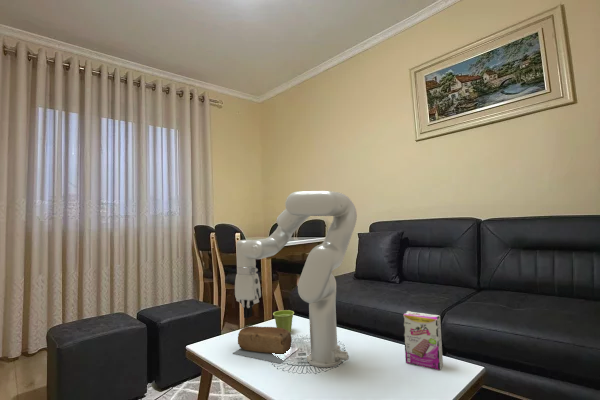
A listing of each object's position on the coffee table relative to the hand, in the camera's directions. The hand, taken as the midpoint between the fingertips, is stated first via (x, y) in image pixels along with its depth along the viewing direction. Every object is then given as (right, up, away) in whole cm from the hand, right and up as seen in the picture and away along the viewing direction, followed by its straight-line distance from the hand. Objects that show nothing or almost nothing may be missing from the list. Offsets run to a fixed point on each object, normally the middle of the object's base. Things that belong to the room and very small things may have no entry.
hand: (248, 317), depth 129 cm
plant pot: (+14, -13, +15) cm, 24 cm away
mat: (+8, -12, -5) cm, 15 cm away
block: (-2, -8, +2) cm, 9 cm away
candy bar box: (+62, -8, -21) cm, 66 cm away
